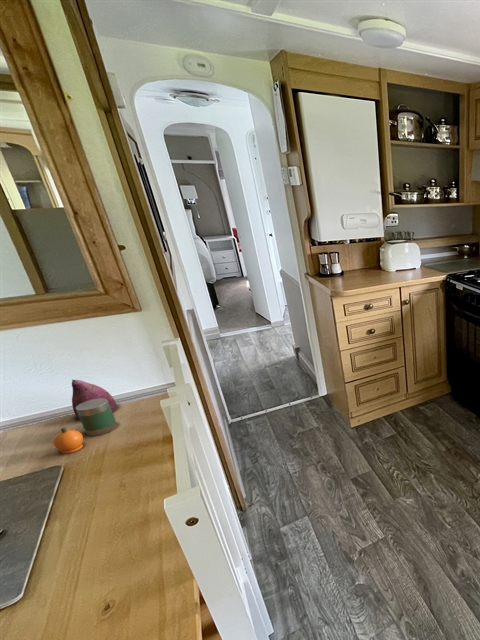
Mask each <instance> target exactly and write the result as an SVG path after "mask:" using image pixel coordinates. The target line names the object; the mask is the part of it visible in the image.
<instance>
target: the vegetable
mask: <svg viewBox="0 0 480 640" xmlns="http://www.w3.org/2000/svg"><path fill="white" fill-rule="evenodd" d="M71 387H72V396H71V404H72V410H73V413H74V415H75V417H76V419H77V420H79V421H80V418H79V416H78V413H77V410H76V406H78V405H79V404H81V403H83V402H86V401H89V400H93V399H99V398H104V399H107V401H108V403H109V405H110V407H111V410H112V412H113V413H114V412H115V411H116V410H118V404H117V401H116V399H115V398H114V397H113V396H112V394H110V393H109V391H107V390H106V389H104V388H103V387H101V386H99V385H97V384H93V383H90V382H86V381H83V380H80V379H71Z"/></svg>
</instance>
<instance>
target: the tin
mask: <svg viewBox="0 0 480 640" xmlns="http://www.w3.org/2000/svg"><path fill="white" fill-rule="evenodd" d="M76 410H77V413H78V416H79V418H80V420H79V421H80V423H81V425H82V427H83V430H84V431H85V433H86V435H87V436H89V437H95V436H101V435H105V434H107V433H109V432H111V431H114V430H115V429H116V428H117V426H118V424H117V421H116V418H115V415H114V412H112V410H111V407H110V405H109V403H108V401H107V399H104V398H99V399H93V400H89V401H86V402H83V403H81V404H79V405H78V406H76Z"/></svg>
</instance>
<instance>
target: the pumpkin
mask: <svg viewBox="0 0 480 640" xmlns="http://www.w3.org/2000/svg"><path fill="white" fill-rule="evenodd" d="M60 431H61V432H59V433H57V434H56V435H55V437H54V438H53V440H52V443H53V446H54V447H55V449H57V450H59V451H60V453H62V454H70V453H74V452H76V451H79V450H81V449H82V448H83V445H84V444H83V441H84V436H83V434H82V433H81V432H80V431H78V430H75V429H67V428H66V427H60Z"/></svg>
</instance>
